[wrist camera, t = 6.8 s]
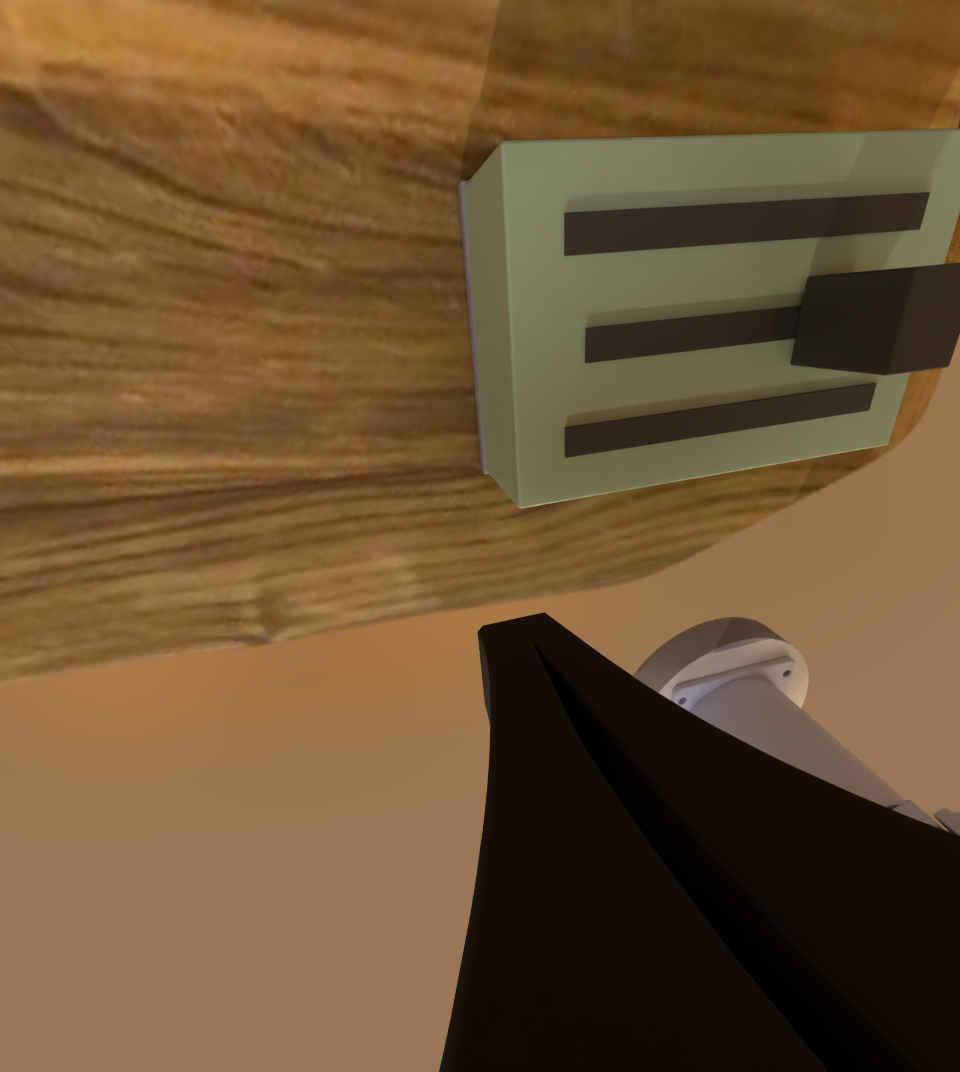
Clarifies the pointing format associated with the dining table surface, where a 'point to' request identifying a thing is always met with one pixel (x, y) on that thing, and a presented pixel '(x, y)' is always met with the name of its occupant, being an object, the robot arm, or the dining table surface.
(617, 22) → the dining table surface
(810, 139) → the green slab
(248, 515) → the dining table surface
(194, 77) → the dining table surface
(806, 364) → the slider
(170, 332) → the dining table surface
